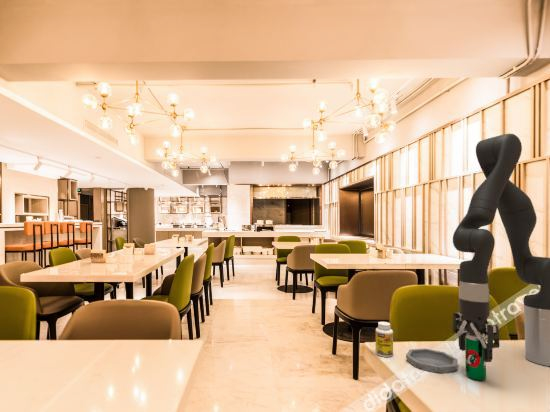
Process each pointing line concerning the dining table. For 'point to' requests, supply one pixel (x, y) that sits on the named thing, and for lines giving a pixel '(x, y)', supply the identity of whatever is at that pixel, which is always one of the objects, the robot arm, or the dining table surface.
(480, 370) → the soda can
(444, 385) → the dining table surface
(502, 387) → the dining table surface
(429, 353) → the dish
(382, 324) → the supplement bottle
